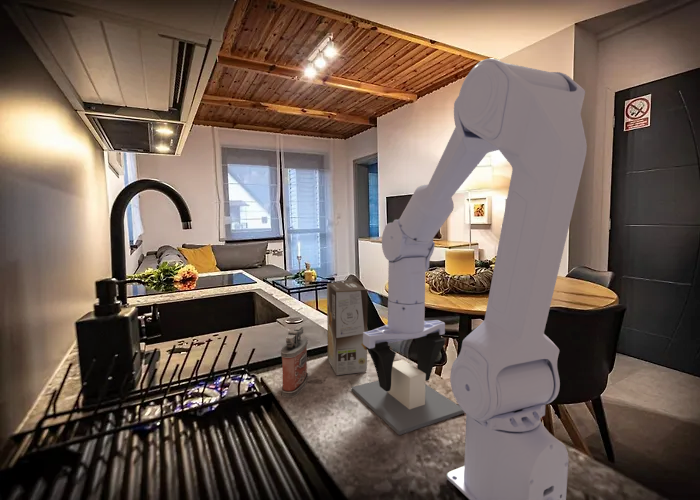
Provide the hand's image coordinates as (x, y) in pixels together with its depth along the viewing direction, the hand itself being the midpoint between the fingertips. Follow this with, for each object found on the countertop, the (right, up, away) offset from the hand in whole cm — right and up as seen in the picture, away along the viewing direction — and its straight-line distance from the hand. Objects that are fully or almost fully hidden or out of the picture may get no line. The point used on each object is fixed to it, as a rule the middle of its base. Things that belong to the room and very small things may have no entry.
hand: (404, 383), depth 57 cm
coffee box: (-10, -2, +14) cm, 17 cm away
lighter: (-18, -3, +5) cm, 19 cm away
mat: (0, -3, 0) cm, 3 cm away
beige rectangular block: (0, -2, 0) cm, 2 cm away
